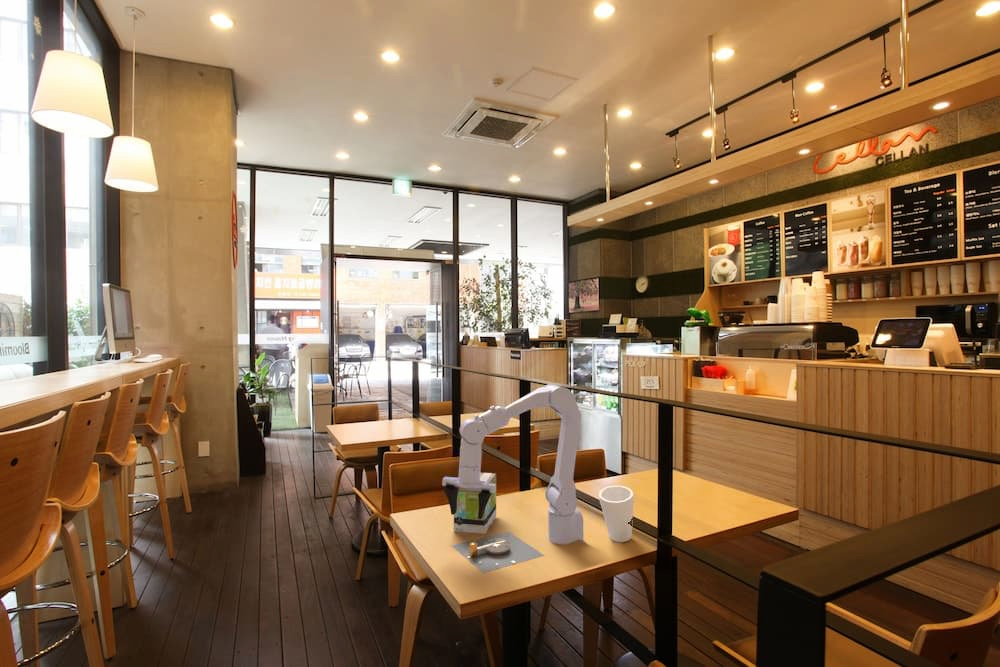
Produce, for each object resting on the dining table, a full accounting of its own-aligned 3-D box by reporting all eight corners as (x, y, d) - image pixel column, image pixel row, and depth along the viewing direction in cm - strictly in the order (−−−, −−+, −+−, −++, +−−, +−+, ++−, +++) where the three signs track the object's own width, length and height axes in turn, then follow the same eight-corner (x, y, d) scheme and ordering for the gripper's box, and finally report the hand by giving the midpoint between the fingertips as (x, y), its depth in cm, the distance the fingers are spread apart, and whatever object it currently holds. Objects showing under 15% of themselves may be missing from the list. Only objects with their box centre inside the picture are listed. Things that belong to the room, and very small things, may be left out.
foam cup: (631, 524, 151) (627, 483, 149) (642, 542, 142) (637, 499, 140) (599, 529, 151) (595, 488, 148) (608, 547, 142) (603, 504, 139)
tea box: (486, 538, 147) (485, 486, 147) (452, 535, 150) (452, 485, 149) (497, 518, 162) (496, 472, 162) (466, 516, 164) (465, 470, 164)
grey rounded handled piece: (501, 541, 141) (501, 530, 141) (515, 551, 135) (515, 539, 135) (464, 551, 136) (463, 539, 135) (476, 561, 129) (476, 549, 129)
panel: (508, 535, 149) (508, 530, 149) (544, 559, 133) (544, 554, 133) (452, 549, 140) (451, 544, 140) (483, 577, 124) (483, 571, 124)
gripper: (438, 464, 135) (435, 516, 135) (491, 472, 131) (488, 525, 131) (449, 458, 142) (446, 507, 142) (499, 465, 138) (496, 516, 138)
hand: (467, 515), depth 137 cm, fingers open, 7 cm apart
